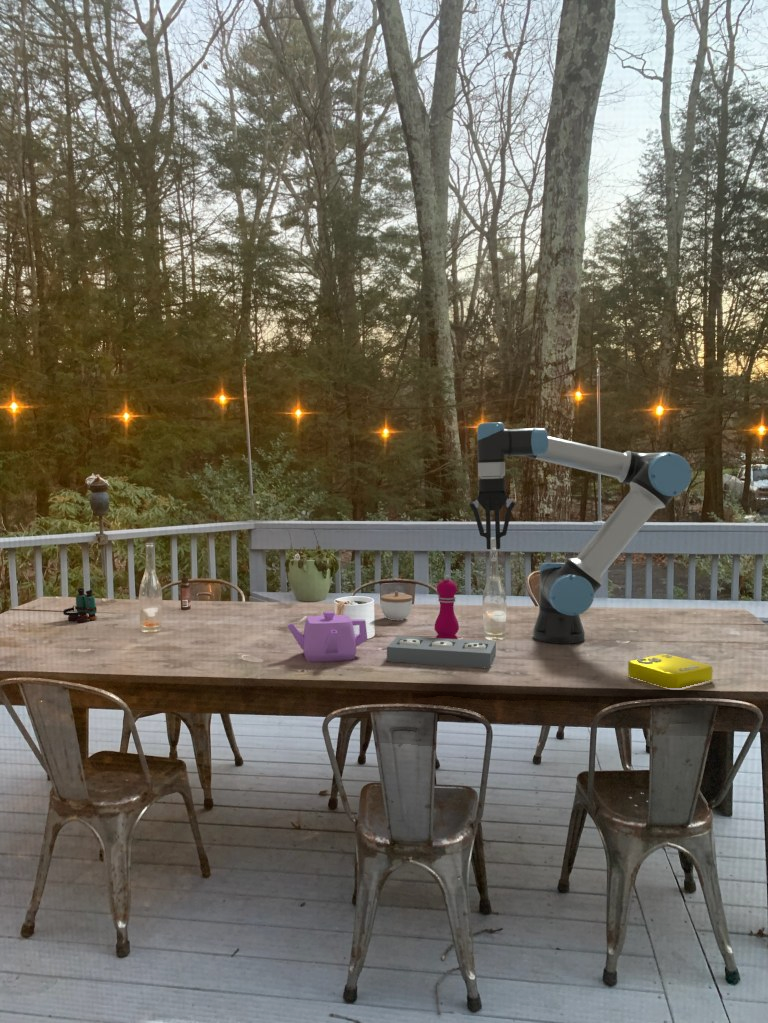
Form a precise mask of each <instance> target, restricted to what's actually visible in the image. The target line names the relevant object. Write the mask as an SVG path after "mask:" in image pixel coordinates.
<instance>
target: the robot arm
mask: <svg viewBox="0 0 768 1023" xmlns="http://www.w3.org/2000/svg"><path fill="white" fill-rule="evenodd" d="M476 432H477V435H476V436H477V438H476V444H477V448H476V449H477V473H478V474H477V477H480V478H479V479H478V481H477V482H478V495H477V498H476V500H475V501H473V502H470V504H469V507H470V508H471V510H472V511H473V513H474V514H473V515H474V518H475V522H476V525H477V529H478V532H479V535H480V537H484V538H485V539H486V550H490V554H491V553H492V548H493V547H496V550H500V549H501V538H502V537H505V536H506V535H507V532H508V529H509V528H508V527H509V524H510V518H511V514H512V511H513V509H514V507H515V505H516V502H515V501H512V500H511V499H509V497H508V495H507V493H506V492H507V491H506V479H505V476H506V461H505V460H506V459H505V457H512V456H514V457H515V456H517V457H523V458H528V459H534V460H538V461H541V462H547V463H551V464H554V465H555V464H556V465H560V466H564V467H569V468H572V469H577V470H581V471H585V472H590V473H593V474H599V475H603V476H606V477H611V478H615V479H617V481H618V482H619V483H622V484H626V485H629V486H630V489H629V490H630V491H629V492H628V493H627V495H626V496H624V498H623V499H622V500H621V502H620V503H619V504H618V506H617V507H616V508H615V509H614V510H613V512H611V514H610V515H609V517H608V518H607V519H606V520H605V521H604V523H603V524H602V525H601V526H600V528H599V529H598V530H597V532H596V533H595V534H594V535H593V536H592V538H591V539H590V540H589V541H588V543H587V544H586V545H585V546H584V548H583V549H582V550H581V551H580V552H579V554H578V555H577V556H576V557H572V558H571V557H570V558H568V559H567V560H566V561H565V562H543V563H541V564H540V566H539V567H540V568H539V573H538V574H539V610H538V611H539V612H538V616H537V618H536V622H535V623H534V627H533V630H532V632H533V633H532V637H533V639H535V640H537V641H540V642H545V643H550V644H562V645H564V644H576V643H581V642H583V641H585V630H584V626H583V624H582V620H581V616H580V615H581V614H583V613H586V612H587V611H588V610H589V609H590V607H591V606H592V604H593V602H594V598H595V594H596V593H597V592H598V590H599V589H600V588H601V586H602V585H603V578H602V577H603V575H604V574H605V573H606V572H607V570H608V569H610V567H611V565H613V563H614V562H615V561H616V559H617V558H618V557H619V555H621V553H622V552H623V550H624V549H625V548H626V547H627V545H629V544H630V542H631V541H632V540H633V538H634V537H635V536H636V535H637V534H638V532H639V531H640V530H641V529H642V527H643V526H644V525H645V524H646V523H647V522H648V520H649V519H650V518H651V517H652V515H653V514H654V513H655V511H656V510H659V509H665V508H666V507H667V505H668V504H670V502H671V501H672V500H673V498H674V497H676V496H678V495H680V494H682V493H683V492H684V491H686V490H687V488H689V486H690V483H691V480H692V477H693V475H692V468H691V465H690V463H689V462H688V460H686V458H684V457H683V456H681V455H680V454H677V453H675V452H671V451H663V452H637V451H631V450H627V451H625V452H620V451H615V450H611V449H607V448H602V447H597V446H593V445H588V444H585V443H580V442H576V441H570V440H568V439H563V438H558V437H553V436H550V435H548V431H547V429H546V428H544V427H543V428H542V427H541V428H540V427H529V428H514V429H513V428H512V429H511V428H510V429H509V428H506V427H505V424H504V423H503V422H501V421H499V422H496V421H495V422H483V423H482V422H481V423H480V424H478V425H477V431H476ZM505 503H506V507H507V509H506V513H505V517H504V522H503V523H504V524H503V527H502V531H501V522H500V521H501V520H500V519H501V516H500V513H501V512H500V510H501V509H502V508H503V507H504V505H505ZM479 505H480V506H481V507H482V508H483V509H484V510H485V529H484V526H483V522H482V519H481V515H480V511H479V509H478V508H479V507H480V506H479ZM491 511H494V522H495V523H494V526H495V527H494V528H495V531H494V532H495V537H492V528H491V527H492V526H491V524H492V523H491V522H492V518H491ZM491 547H492V548H491ZM495 556H496V554H495ZM497 560H498V556H497V557H494V555H493V557H492V558H491V557H490V561H491V562H497Z"/></svg>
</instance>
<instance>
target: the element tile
mask: <svg viewBox="0 0 768 1023" xmlns="http://www.w3.org/2000/svg"><path fill="white" fill-rule="evenodd" d="M627 665H628V667H627V676H630V677H633V678H637V679H640V680H643V681H646V682H649V683H652V684H656V685H659V686H662V687H667V688H682V687H686V686H690V685H694V684H698V683H702V682H705V681H709V680H712V681H713V667H712V665H711V664H707V663H703V662H700V661H696V660H691V659H688V658H684V657H679V656H676V655H672V654H669V653H661V654H656V655H651V656H646V657H641V658H637V659H631V660H628V663H627Z"/></svg>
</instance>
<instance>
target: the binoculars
mask: <svg viewBox="0 0 768 1023" xmlns="http://www.w3.org/2000/svg"><path fill="white" fill-rule="evenodd" d="M77 593H78V594H76V595H75V605H74V606H72V607H69V608H66V609H63V615H64V616H67V621H68V622H70V623H71V622H76V623H77V624H78V623H83V622H86V621H88V620H90V621H95V620H98V618H97V615H96V614H97V612H98V611H97V610H98V609H97V605H96V604H97V603H96V599H95V596H94V595H93V589H89V590H86V591H85V589H84V588H82V587H78V588H77Z"/></svg>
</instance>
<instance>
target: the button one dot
mask: <svg viewBox="0 0 768 1023" xmlns="http://www.w3.org/2000/svg"><path fill="white" fill-rule="evenodd" d="M432 647H448V648H452V647H453V644H452V643H451V642H448V641H435V642H432Z"/></svg>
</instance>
